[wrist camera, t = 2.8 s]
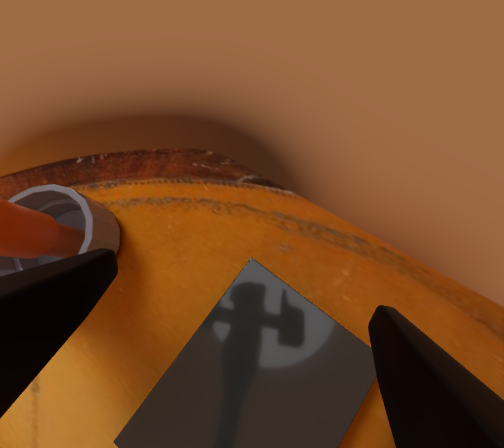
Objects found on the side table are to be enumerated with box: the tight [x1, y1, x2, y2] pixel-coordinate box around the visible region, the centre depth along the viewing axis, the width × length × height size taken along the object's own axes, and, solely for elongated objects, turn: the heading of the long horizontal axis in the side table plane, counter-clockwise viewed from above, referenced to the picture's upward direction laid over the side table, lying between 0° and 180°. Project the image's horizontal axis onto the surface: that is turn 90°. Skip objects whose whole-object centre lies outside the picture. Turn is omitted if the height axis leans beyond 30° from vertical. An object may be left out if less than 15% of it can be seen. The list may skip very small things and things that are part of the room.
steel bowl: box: [0, 184, 120, 276], centre depth 21 cm, size 9×9×4 cm
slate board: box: [114, 258, 377, 448], centre depth 19 cm, size 18×14×1 cm
